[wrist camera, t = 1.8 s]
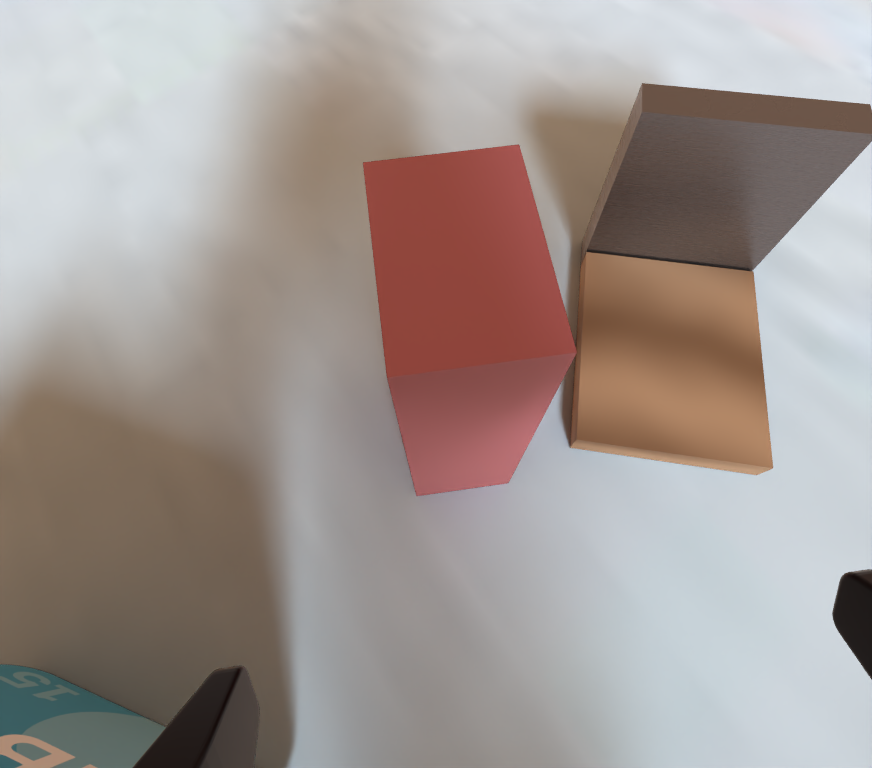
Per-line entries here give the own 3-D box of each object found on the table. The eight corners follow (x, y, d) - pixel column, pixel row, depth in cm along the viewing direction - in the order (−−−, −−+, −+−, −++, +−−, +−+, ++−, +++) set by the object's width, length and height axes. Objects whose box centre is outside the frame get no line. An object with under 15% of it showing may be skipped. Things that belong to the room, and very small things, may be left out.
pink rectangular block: (508, 483, 22) (576, 352, 11) (416, 496, 22) (386, 377, 11) (484, 359, 25) (519, 144, 13) (401, 370, 24) (362, 162, 13)
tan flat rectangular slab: (756, 475, 22) (773, 468, 21) (570, 447, 23) (576, 439, 22) (740, 285, 26) (753, 271, 25) (580, 266, 27) (586, 252, 25)
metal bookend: (739, 284, 26) (877, 134, 18) (580, 264, 27) (642, 111, 18) (737, 260, 27) (870, 104, 18) (582, 242, 27) (642, 83, 19)
